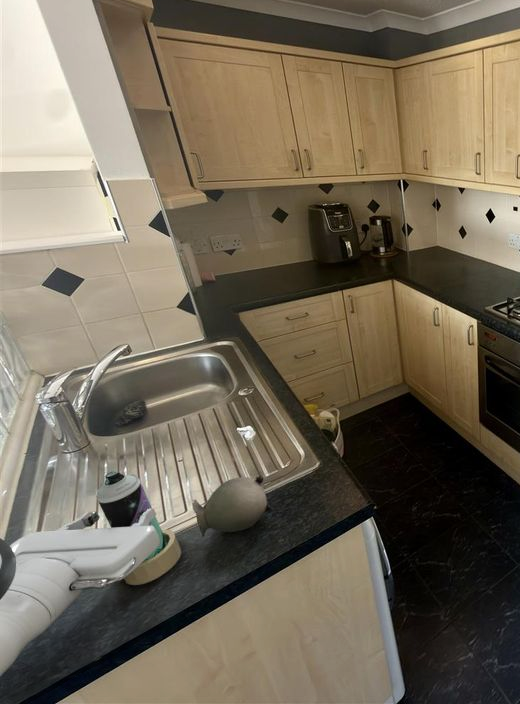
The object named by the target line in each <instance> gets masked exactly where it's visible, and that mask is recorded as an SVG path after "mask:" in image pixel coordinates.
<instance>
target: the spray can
mask: <svg viewBox="0 0 520 704" xmlns="http://www.w3.org/2000/svg"><path fill="white" fill-rule="evenodd" d="M95 496H96V500H97V503H98V504H99V506H100V508H101V511H102V513H103V514H104V517H105V518H106V520H107V522H108V525H109V526H110V528H115V527H131V526H132V525H133V524H134V523H138V522H139V520H138V519H137V517H136V516H137V515H138V514H139V513H140V512H141V511H142V510H143V509H150V508H153V507H152V505H151V502H150V500H149V498H148V495H147V493H146V492H145V489H144V487H143V484H142V482H141V479H140V478H138V476H137V475H136V474H129V473H128V474H124V473H120V471H116V470H115V471H110V472H108V473H107V474H105V480H104V481H103V484H102V485H101V486H99V488H98V489H97V490H96V492H95ZM156 516H157V515H156ZM156 516H155V517H154V518H153V519H152V520H151V521H150V522H149V526H150V525H151V526H154V527H155V529H156V531H157V533H158V535H159V538H160V544H159V546H158V547H157V548H156V549H155V550H154V551H153V552H152V553H151V554H150V555H149V556H148V557H147V558H146V559H145V560H144V561H143V562H145V561H147V560H149V559H151V558H153V557H154V556H156V555H157V554H158V553H160V552H161V551H162V550H163V549H164V548H165V547H166V546H167V545H168V544H167V542H166V539H165V537H164V535H163V532H162V530H163V529H162V527H161V526H160V523H159V521H158V518H157V517H156Z"/></svg>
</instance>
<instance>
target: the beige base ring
mask: <svg viewBox="0 0 520 704" xmlns="http://www.w3.org/2000/svg"><path fill="white" fill-rule="evenodd" d="M161 530H162V532H163V535H164V537H165V539H166V542H167V544H168V545H167V546H166V547H165V548H164V549H163V550H162V551H161V552H160V553H158V554H157V555H156V556H154V557H153V558H151V559H149V560H147V561H145V562H142V563H141V564H140V565H139V566H138V567H137V568H136V569H135V570H133V571H132V572H131V573H130V574H128V575H127V576H126V577H124V578H123V581H124V582H125V583H126V584H127V585H130V586H141V585H145V584H147V583H150V582H152V581H154V580H156V579H159V578H160V577H161V576H163V575H165V574H166V573H167V572H168V571H170V570H171V569H172V568H173V567H174V566H175V565H176V564H177V563H178V561H179V560H180V558H181V556H182V548H181V546H180V543H179V541H178V538H177V536H176V534H175V532H174V531H172V530H170V529H161Z"/></svg>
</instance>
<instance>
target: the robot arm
mask: <svg viewBox="0 0 520 704" xmlns="http://www.w3.org/2000/svg"><path fill="white" fill-rule="evenodd" d="M155 516H157V512H156V510H155V509H154V508H153V507H152V508H150V509H143V510H142V511H141V512H140V513H139V514H138V515H137V516H136V517H137V519H138V520H139V522H138V523H134V524H133V525H132V526H131V527H115V528H111V527H102V528H101V527H100V528H91V527H93V526H94V525H95V524H96V523H97V522H98V521H99V520H100V517H101V516H100V515H99V512H98V511H86V512H85V513H84V514H82V515H80V516H79V518H77V519H75V520H73V521H70V522H69V523H65V525H62V526H60V527H59V528H58V529H56V530H48V531H46V530H45V531H33V532H30V533H29V534H26V535H24V536H22V537H20V538H18V539H16V540H15V541H13V542H12V543H11V544H9V543H7V542H6V541H5V540H4V539H2V538H1V537H0V677H1V676H2V675H4V674H5V673H6V672H7V670H8V669H10V667H11V666H12V665H13V664H14V663H15V661H16V660H17V658H18V657H19V656H20V654H21V652H22V651H23V650H24V649H25V647H26V646H27V645H29V644H30V643H31V642H32V641H33V640H34V639H36V638H37V637H39V636H40V635H41V634H43V633H44V632H45V631H46V630H48V628H49V627H50V626H51V625H52V624H53V623H54V622H56V620H57V619H58V618H59V617H60V616H61V615H62V614H64V612H65V611H66V610H67V609H68V608H69V607H70V606H71V605H72V604H73V603H74V602H75V601H76V599H78V597H79V596H81V594H82V592H83V591H84V590H89V589H96V590H97V589H98V590H99V589H103V588H106V587H108V586H109V585H112V584H113V583H116V582H119V581H121V580H122V579H123V578H124V577H126V576H127V575H128V574H130V573H131V572H132V571H133V570H135V569H136V568H137V567H138V566H139V565H140V564H141V563H142V562H143V561H144V560H145V559H146V558H147V557H148V556H149V555H150V554H151V553H152V552H153V551H154V550H155V549H156V548H157V547H158V546H159V544H160V538H159V535H158V533H157V531H156V529H155V527H154V526H151V525H150V526H149V522H150V521H151V520H152V519H153V518H154V517H155ZM123 580H124V579H123Z"/></svg>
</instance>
